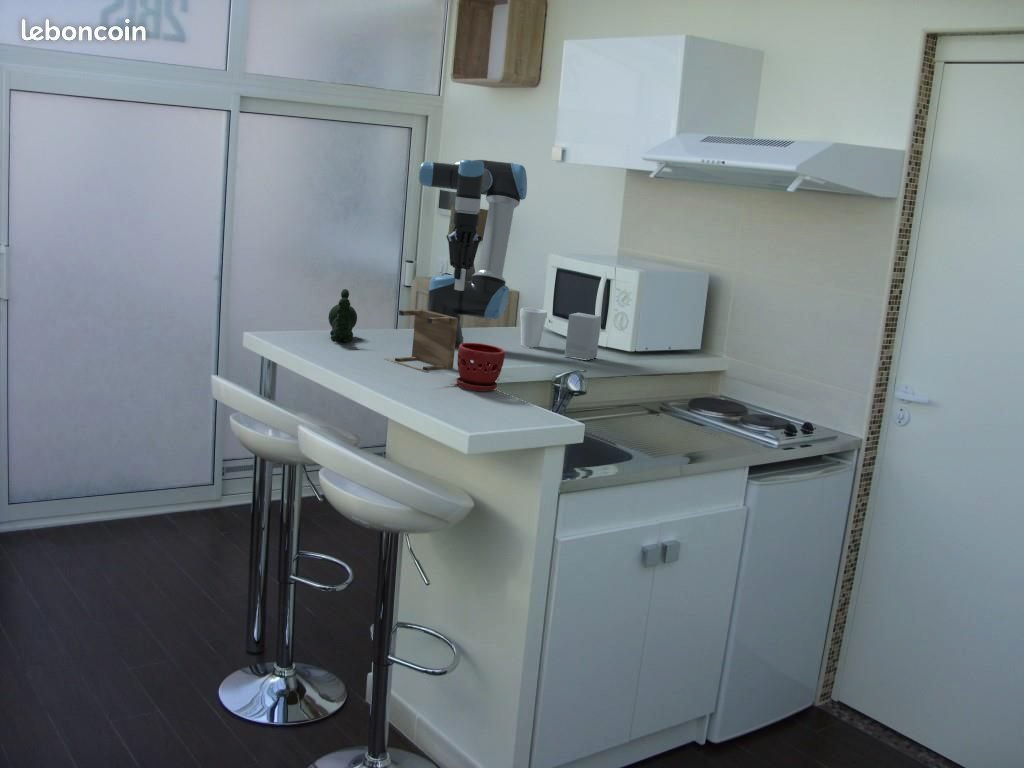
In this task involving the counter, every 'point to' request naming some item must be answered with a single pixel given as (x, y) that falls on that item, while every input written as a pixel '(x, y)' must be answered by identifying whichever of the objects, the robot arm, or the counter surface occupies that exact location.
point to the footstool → (432, 339)
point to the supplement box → (583, 336)
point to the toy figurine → (342, 319)
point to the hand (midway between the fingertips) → (459, 289)
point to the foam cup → (532, 326)
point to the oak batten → (406, 365)
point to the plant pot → (479, 366)
